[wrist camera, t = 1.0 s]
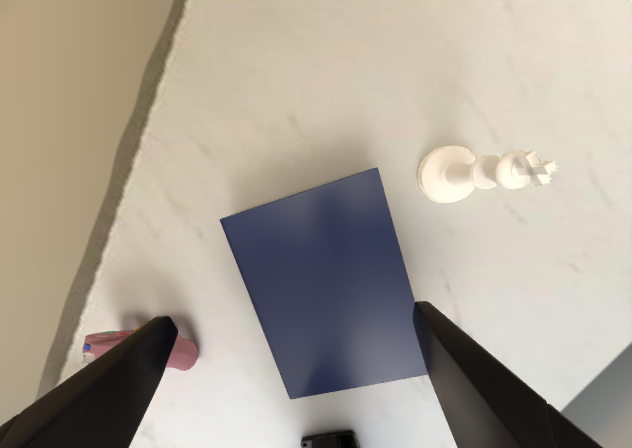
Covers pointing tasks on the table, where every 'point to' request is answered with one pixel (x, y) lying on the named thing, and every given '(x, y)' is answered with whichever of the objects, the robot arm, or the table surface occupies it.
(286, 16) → the table surface
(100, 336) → the video game controller
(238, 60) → the table surface
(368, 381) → the blue book
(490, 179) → the chess piece
